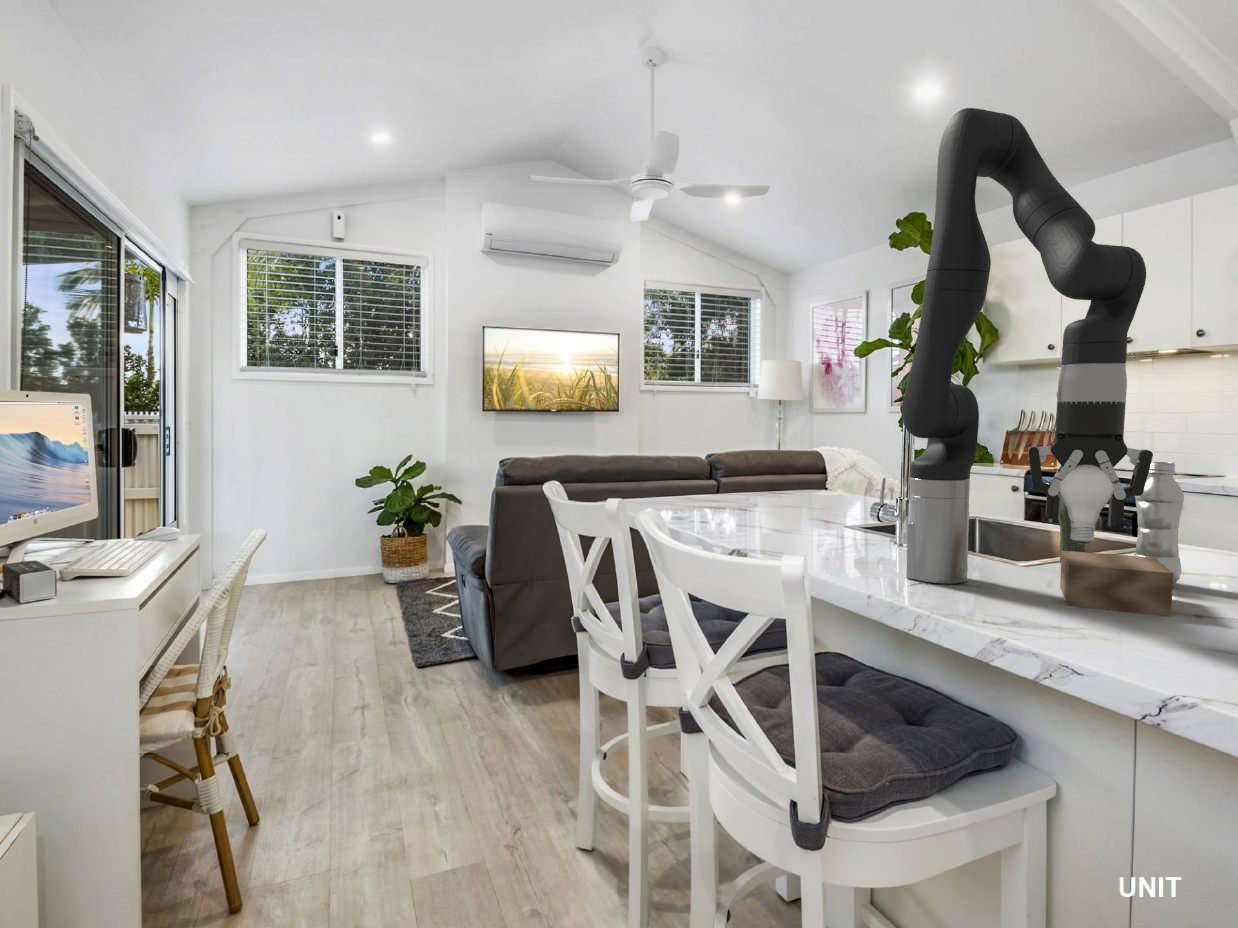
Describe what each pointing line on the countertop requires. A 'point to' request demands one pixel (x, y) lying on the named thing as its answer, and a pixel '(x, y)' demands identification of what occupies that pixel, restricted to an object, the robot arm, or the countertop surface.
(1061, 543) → the vegetable
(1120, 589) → the riser block
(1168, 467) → the plastic bottle
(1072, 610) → the countertop surface
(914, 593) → the countertop surface
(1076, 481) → the lightbulb
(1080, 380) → the robot arm
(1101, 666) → the countertop surface
